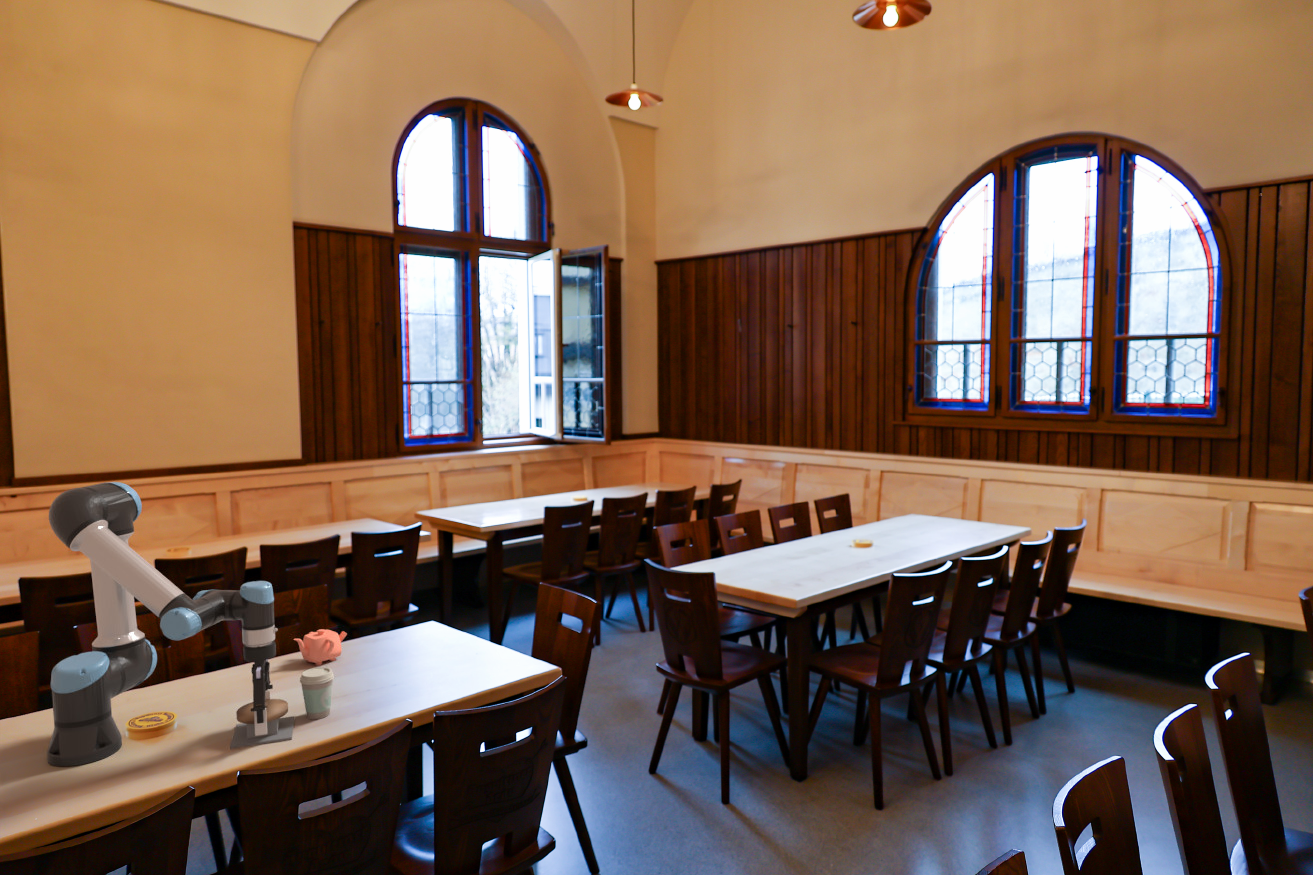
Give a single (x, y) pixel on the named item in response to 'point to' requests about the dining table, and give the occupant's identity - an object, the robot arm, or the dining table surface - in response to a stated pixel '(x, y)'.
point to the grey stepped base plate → (275, 733)
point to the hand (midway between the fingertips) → (263, 724)
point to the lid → (273, 711)
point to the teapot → (321, 646)
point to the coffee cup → (317, 691)
